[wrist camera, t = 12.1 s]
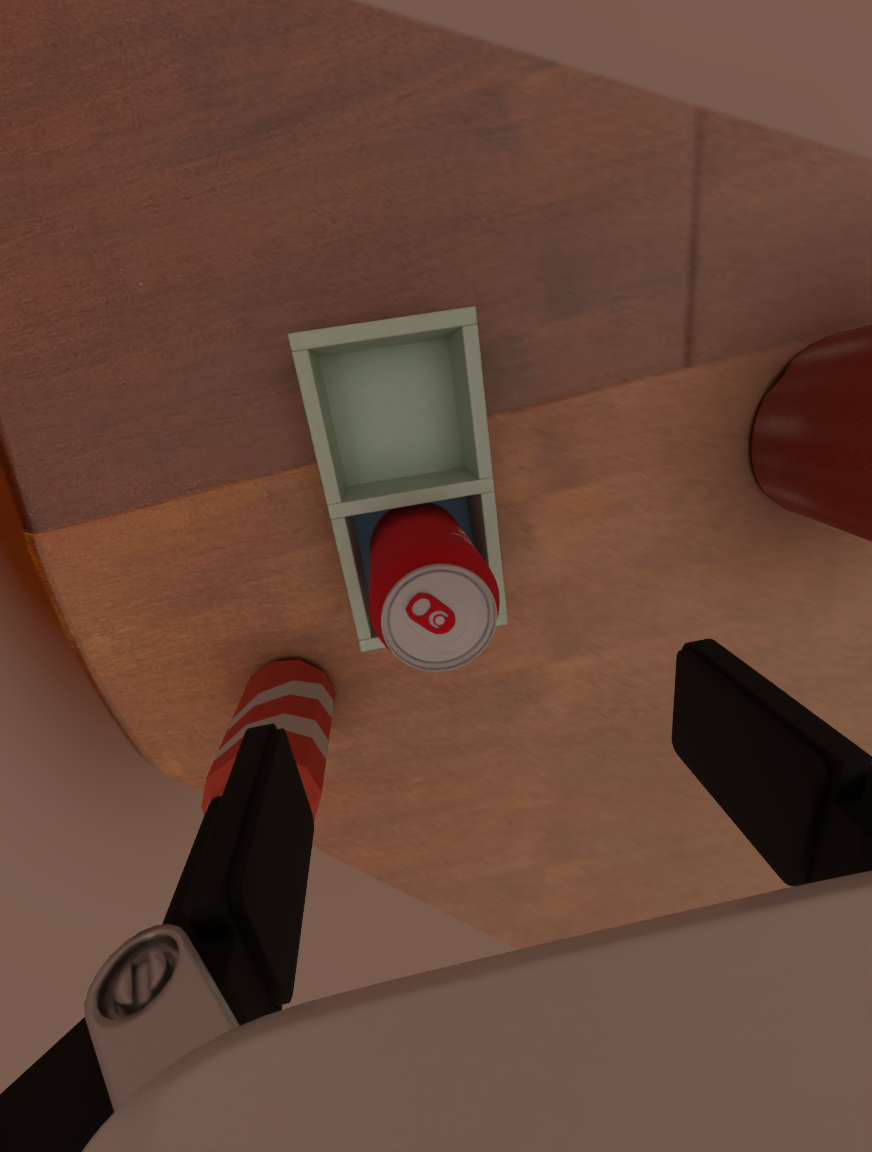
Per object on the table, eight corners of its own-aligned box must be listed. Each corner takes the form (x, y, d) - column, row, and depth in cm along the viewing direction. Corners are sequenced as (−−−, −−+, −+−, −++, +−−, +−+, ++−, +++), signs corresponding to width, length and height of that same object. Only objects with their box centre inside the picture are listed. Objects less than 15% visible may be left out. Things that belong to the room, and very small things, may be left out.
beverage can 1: (339, 720, 37) (324, 859, 26) (254, 729, 37) (202, 874, 25) (331, 652, 35) (311, 770, 24) (241, 659, 34) (178, 785, 23)
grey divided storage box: (303, 345, 28) (287, 333, 23) (457, 322, 29) (475, 305, 23) (363, 613, 34) (361, 652, 29) (488, 590, 35) (508, 624, 30)
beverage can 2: (423, 603, 34) (448, 705, 23) (351, 552, 32) (339, 636, 21) (481, 535, 33) (537, 608, 21) (409, 478, 31) (430, 525, 19)
